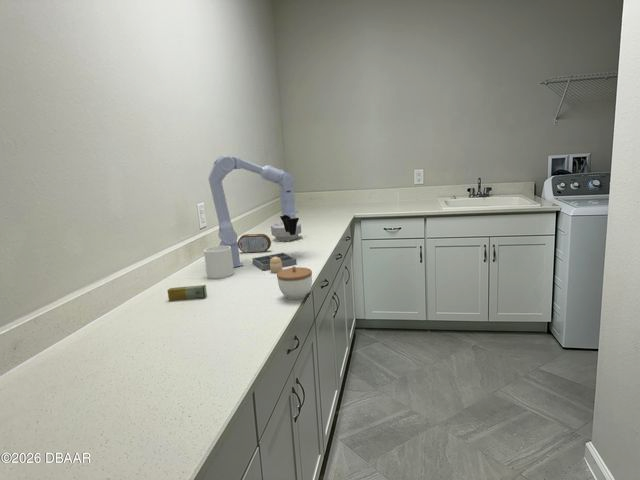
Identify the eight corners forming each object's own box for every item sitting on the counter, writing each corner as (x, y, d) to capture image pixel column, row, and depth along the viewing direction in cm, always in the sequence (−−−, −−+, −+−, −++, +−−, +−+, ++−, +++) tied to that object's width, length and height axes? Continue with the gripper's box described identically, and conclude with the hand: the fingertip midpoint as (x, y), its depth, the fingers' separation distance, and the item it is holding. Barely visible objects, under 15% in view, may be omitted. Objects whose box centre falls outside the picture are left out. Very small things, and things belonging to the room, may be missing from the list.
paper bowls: (301, 241, 210) (299, 225, 208) (270, 243, 211) (268, 227, 209) (302, 235, 225) (301, 220, 223) (274, 237, 225) (272, 222, 224)
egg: (273, 274, 158) (271, 258, 156) (269, 271, 162) (267, 256, 160) (284, 271, 159) (282, 256, 158) (280, 269, 163) (278, 254, 162)
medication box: (207, 296, 139) (206, 284, 138) (205, 299, 136) (204, 286, 135) (171, 299, 139) (169, 287, 138) (168, 301, 136) (166, 289, 135)
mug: (226, 279, 156) (222, 252, 153) (202, 278, 159) (198, 252, 156) (241, 269, 167) (238, 244, 165) (219, 269, 170) (216, 244, 168)
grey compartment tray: (263, 270, 162) (262, 265, 162) (252, 263, 175) (252, 258, 174) (296, 264, 168) (296, 258, 168) (284, 257, 180) (283, 252, 180)
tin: (271, 250, 195) (270, 232, 193) (270, 252, 192) (268, 234, 190) (240, 252, 197) (238, 234, 195) (238, 254, 194) (236, 236, 192)
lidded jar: (282, 304, 125) (279, 274, 123) (276, 293, 135) (273, 265, 133) (317, 298, 128) (315, 268, 126) (309, 288, 138) (306, 260, 136)
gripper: (301, 201, 172) (304, 234, 175) (292, 198, 186) (295, 229, 189) (284, 203, 170) (287, 237, 173) (276, 200, 184) (279, 231, 187)
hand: (290, 233), depth 181 cm, fingers open, 7 cm apart
